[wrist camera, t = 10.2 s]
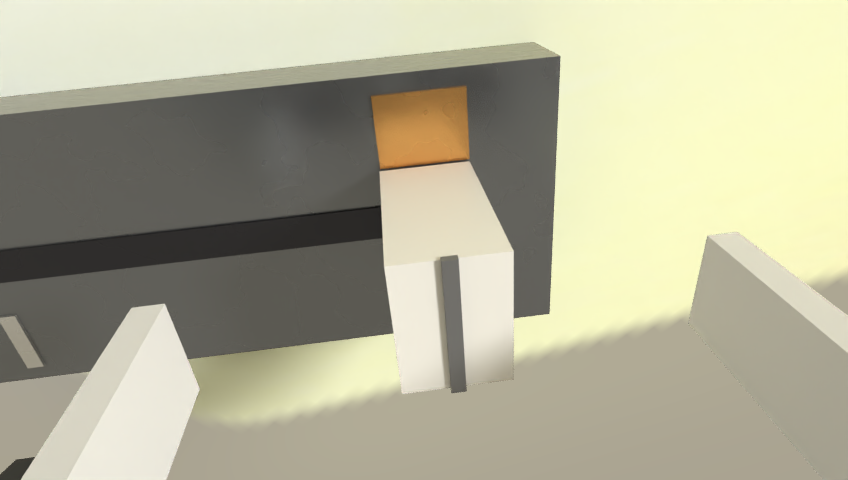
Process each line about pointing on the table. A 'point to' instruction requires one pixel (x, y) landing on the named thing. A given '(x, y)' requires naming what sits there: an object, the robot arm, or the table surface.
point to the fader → (446, 279)
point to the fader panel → (254, 198)
